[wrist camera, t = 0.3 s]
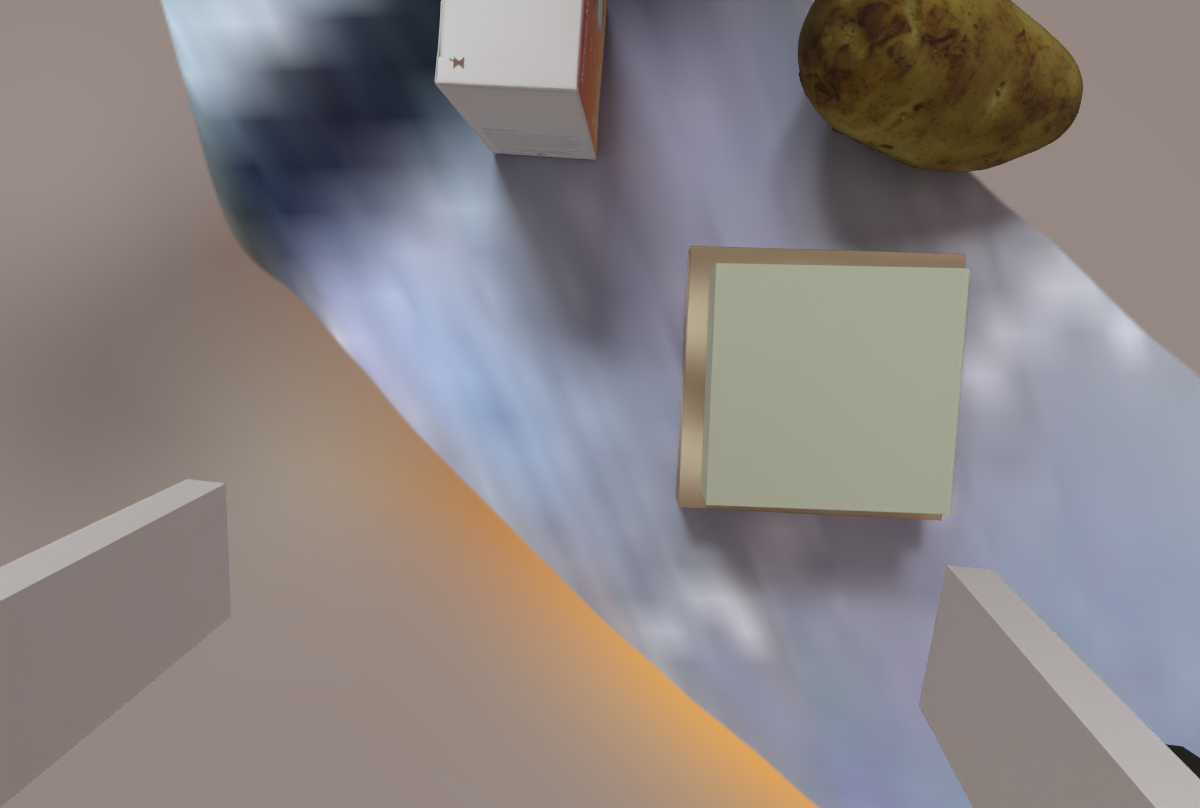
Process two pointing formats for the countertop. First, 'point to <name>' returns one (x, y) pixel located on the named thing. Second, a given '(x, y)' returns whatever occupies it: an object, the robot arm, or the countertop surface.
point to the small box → (525, 72)
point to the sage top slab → (833, 386)
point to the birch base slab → (697, 347)
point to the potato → (938, 79)
